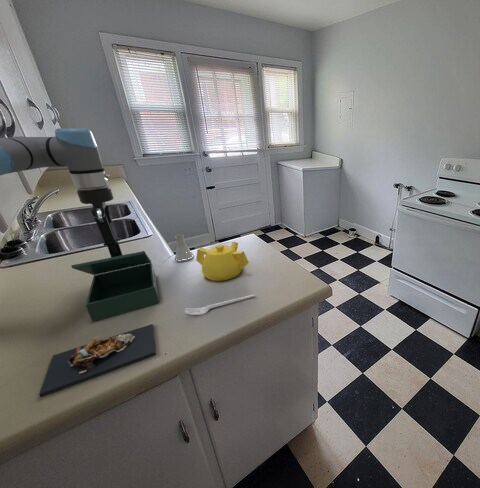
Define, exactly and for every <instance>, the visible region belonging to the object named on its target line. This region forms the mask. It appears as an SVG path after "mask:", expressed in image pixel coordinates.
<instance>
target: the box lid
mask: <svg viewBox="0 0 480 488" xmlns="http://www.w3.org/2000/svg"><path fill="white" fill-rule="evenodd" d="M148 263H152V260H151V258H150V257H149V256H148V254H147V252H146V251H145V250H143V251H138V252H137V251H136V252H132V253H127V254H122V255H121V256H116V257H111V256H110V257H106V258H101V259H97V260H92V261H87V262H82V263H81V262H80V263H76V264H71V269H74V270H77V271H80V272H82V273H85V274H89V275H91V276H94V275H98V274H102V273H107V272H111V271H116V270H121V269H125V268H130V267H134V266H139V265H144V264H148ZM152 264H153V263H152Z"/></svg>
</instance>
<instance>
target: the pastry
mask: <svg viewBox="0 0 480 488" xmlns="http://www.w3.org/2000/svg"><path fill="white" fill-rule="evenodd" d="M118 335H119V334H118ZM113 336H114V337H113ZM113 336H109V337H106V338H103V339H100V337H99V336H97V335H96V336H95V337H94V338H92V339H91V340H90V341H89V342H88V343H87V344H88V345H87V344H86V345H87V346H85V347H84V348H83V349H81V348H80V347H81V346H78V347H79V348H78V347H75V348H76V349H75V348H74V349H75V354H74V355H72V356H70V357H69V358H68V363H69V364H70V366H74V365H80V366H87V368H86V369H84V370H82V371H80V372H79V374H80V375H82V374H85V373H87V371H90V370H93V369H94V368H95V365H94V364H93V363H92V362H93V360H94V359H95V358H102V357H105V356H107V355H108V354H109V353H111V352H113V351H116V352H120V351H122V350H124V348H125V347H126V346H127V345H128V344H130V343H131V342H132V340H133V339H134V337H135V336H133V335H132V334H123V335H119V336H118V337H117V336H116V335H113ZM110 337H112V338H110Z"/></svg>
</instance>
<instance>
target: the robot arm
mask: <svg viewBox="0 0 480 488" xmlns="http://www.w3.org/2000/svg"><path fill="white" fill-rule="evenodd" d="M59 167H60V168H62V167H63V168H64V167H66V168H67V169H68V172H69V175H70V178H71V180H72V183H73V186H74V188H75V189H77V191H76V193H77V196H78V199H79V202H80V203H81V204H84V205H91V206H92V208H91V209H90V211H91V214H92V216H93V220H94V221H95V223H96V225H97V227H98V229H99V232H100V235H101V237H102V239H103V242H104V243H103V244H102V245H103V246H104V247H107V249H108V252H109V255H110V258H111V257H116V256H121V255H123V252H122V249H121V246H120V243H119V241H121V238H120V237H118V234H117V232H116V228H115V225H114V222H113V216H112V213H111V207H110V205H107V203H108V202H111V201H113V200H114V194H113V191H112V189H111V187H110V186H109V185H110V183H109V178H110V174H108V173H106V170H105V167H104V164H103V161H102V156H101V154H100V151H99V146H98V145H97V142H96V139H95V137H94V135H93V133H92V131H91V130H90V129H88V128H55V130H54V136H11V137H0V176H4V175H7V174H14V173H17V172H24V171H30V170H31V171H32V170H36V169H43V168H59Z"/></svg>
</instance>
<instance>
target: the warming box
mask: <svg viewBox="0 0 480 488" xmlns="http://www.w3.org/2000/svg"><path fill="white" fill-rule="evenodd" d="M159 303H160V298H159V291H158V282H157V276H156V273H155V269H154V266H153V263H147V264H143V265H138V266H133V267H129V268H124V269H120V270H115V271H111V272H106V273H101V274H97V275H93V278H92V281H91V284H90V288H89V291H88V294H87V298H86V301H85V307H86V310H87V312H88V315H89V317H90V319H91V321H92V322H96V321H101V320H103V319H106V318H111V317H114V316H117V315H121V314H124V313H128V312H131V311H135V310H138V309H142V308H146V307H150V306H152V305H156V304H159Z"/></svg>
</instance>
